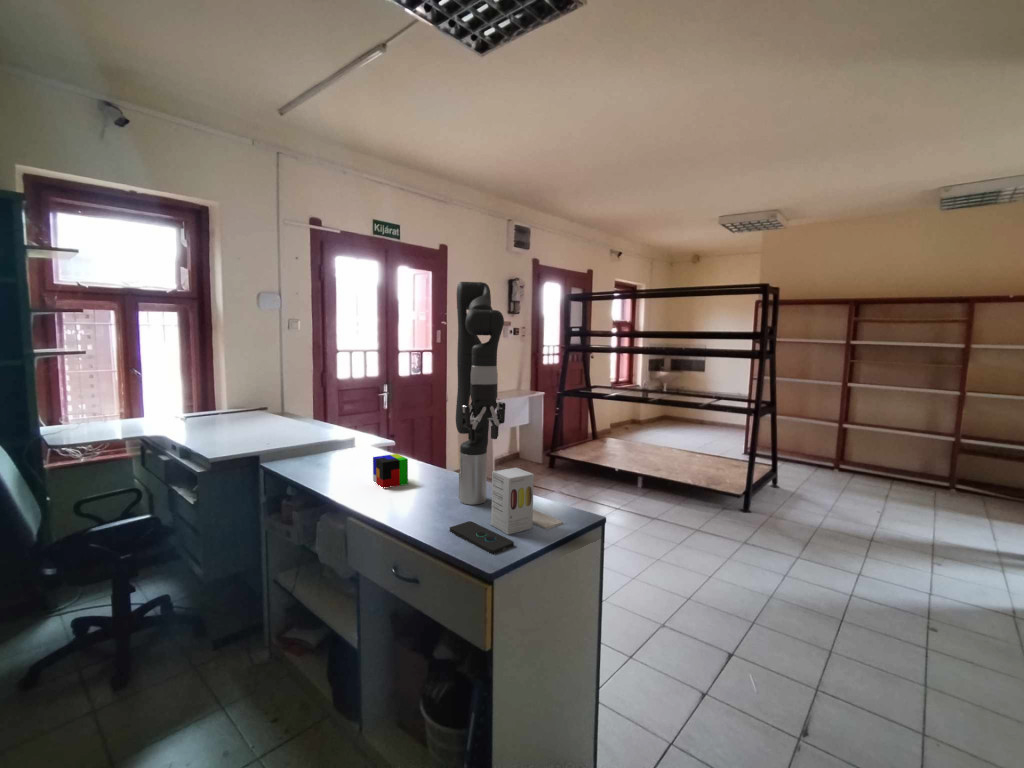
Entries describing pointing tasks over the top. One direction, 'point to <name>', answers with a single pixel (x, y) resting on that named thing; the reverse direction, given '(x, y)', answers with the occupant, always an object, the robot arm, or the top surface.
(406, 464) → the puzzle toy
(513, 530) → the supplement box
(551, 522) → the plain beige rectangular board
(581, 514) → the top surface
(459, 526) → the smart home device
